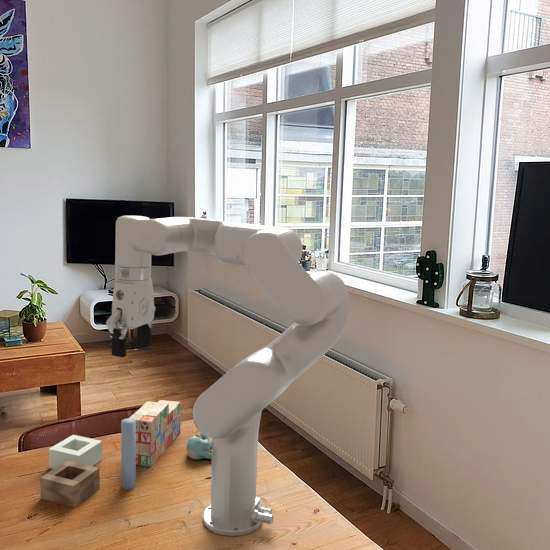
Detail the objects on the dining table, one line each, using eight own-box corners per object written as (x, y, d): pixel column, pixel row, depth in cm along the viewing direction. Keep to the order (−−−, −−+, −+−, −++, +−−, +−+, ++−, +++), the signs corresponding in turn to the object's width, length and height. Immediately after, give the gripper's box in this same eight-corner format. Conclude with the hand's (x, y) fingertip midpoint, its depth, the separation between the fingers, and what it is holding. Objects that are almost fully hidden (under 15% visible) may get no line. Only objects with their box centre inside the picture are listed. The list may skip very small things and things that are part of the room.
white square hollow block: (102, 459, 151) (102, 440, 151) (79, 475, 143) (79, 455, 142) (73, 452, 154) (73, 434, 154) (49, 468, 146) (48, 448, 145)
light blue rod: (138, 484, 140) (138, 419, 137) (130, 490, 137) (130, 424, 134) (126, 481, 141) (126, 417, 138) (118, 487, 138) (118, 422, 136)
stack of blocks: (159, 430, 170) (160, 389, 168) (180, 432, 169) (181, 391, 167) (127, 464, 150) (127, 418, 148) (151, 467, 148) (151, 420, 146)
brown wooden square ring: (99, 488, 138) (99, 467, 137) (74, 507, 129) (73, 486, 128) (67, 480, 141) (67, 460, 140) (40, 498, 132) (40, 477, 131)
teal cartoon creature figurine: (239, 433, 157) (206, 438, 148) (234, 460, 157) (201, 467, 148) (211, 421, 164) (178, 426, 155) (207, 447, 164) (173, 453, 155)
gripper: (125, 281, 119) (123, 363, 121) (168, 270, 135) (166, 343, 137) (93, 277, 121) (92, 358, 124) (140, 266, 137) (138, 338, 140)
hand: (131, 350), depth 131 cm, fingers open, 9 cm apart
